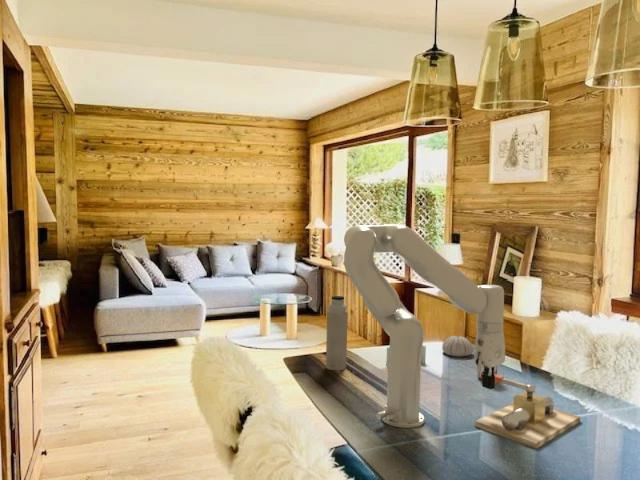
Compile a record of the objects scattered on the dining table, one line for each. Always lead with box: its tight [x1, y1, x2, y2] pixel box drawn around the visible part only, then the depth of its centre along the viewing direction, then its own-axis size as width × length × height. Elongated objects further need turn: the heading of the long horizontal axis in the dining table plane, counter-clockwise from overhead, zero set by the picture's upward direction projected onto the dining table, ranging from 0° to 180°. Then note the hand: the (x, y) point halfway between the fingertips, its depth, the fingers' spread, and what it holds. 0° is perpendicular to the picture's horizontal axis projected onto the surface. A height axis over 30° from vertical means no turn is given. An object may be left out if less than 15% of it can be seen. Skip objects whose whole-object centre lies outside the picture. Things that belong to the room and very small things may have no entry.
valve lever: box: [495, 374, 536, 394], centre depth 153 cm, size 15×3×2 cm, turn 41°
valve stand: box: [474, 391, 581, 450], centre depth 148 cm, size 28×18×9 cm, turn 131°
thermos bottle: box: [325, 295, 349, 371], centre depth 198 cm, size 8×8×28 cm
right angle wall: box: [385, 344, 427, 366], centre depth 206 cm, size 12×12×8 cm
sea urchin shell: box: [442, 335, 474, 358], centre depth 222 cm, size 13×14×8 cm
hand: (488, 387), depth 151 cm, fingers closed
